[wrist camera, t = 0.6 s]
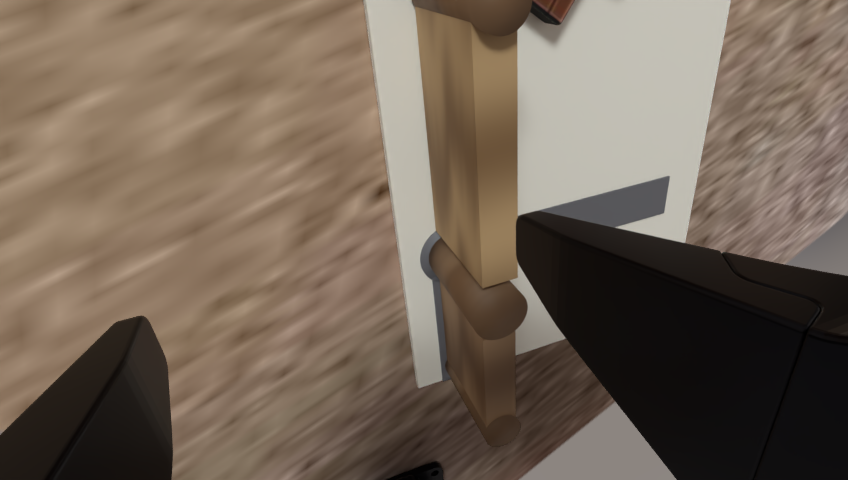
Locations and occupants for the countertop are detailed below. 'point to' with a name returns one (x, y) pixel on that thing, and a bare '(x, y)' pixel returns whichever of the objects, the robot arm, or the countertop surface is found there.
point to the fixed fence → (481, 343)
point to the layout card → (559, 135)
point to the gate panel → (473, 127)
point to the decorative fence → (551, 10)
